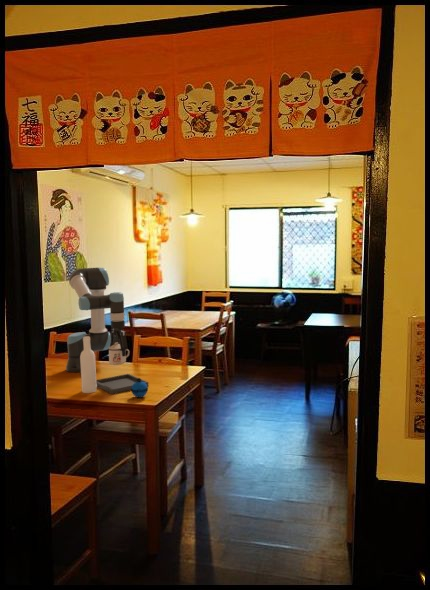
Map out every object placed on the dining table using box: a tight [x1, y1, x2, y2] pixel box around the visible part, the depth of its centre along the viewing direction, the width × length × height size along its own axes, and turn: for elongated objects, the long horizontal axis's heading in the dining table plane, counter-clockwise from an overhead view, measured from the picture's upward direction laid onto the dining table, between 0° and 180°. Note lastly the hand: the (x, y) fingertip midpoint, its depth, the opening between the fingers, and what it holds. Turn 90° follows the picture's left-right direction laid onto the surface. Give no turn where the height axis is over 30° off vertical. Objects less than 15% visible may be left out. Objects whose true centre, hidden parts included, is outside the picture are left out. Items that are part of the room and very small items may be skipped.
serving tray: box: [96, 373, 149, 395], centre depth 281 cm, size 24×22×2 cm
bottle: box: [80, 336, 98, 394], centre depth 270 cm, size 8×8×30 cm
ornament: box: [130, 377, 149, 398], centre depth 259 cm, size 9×9×10 cm
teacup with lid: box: [107, 341, 130, 366], centre depth 279 cm, size 12×9×12 cm
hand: (119, 360), depth 279 cm, fingers closed on teacup with lid, 9 cm apart
